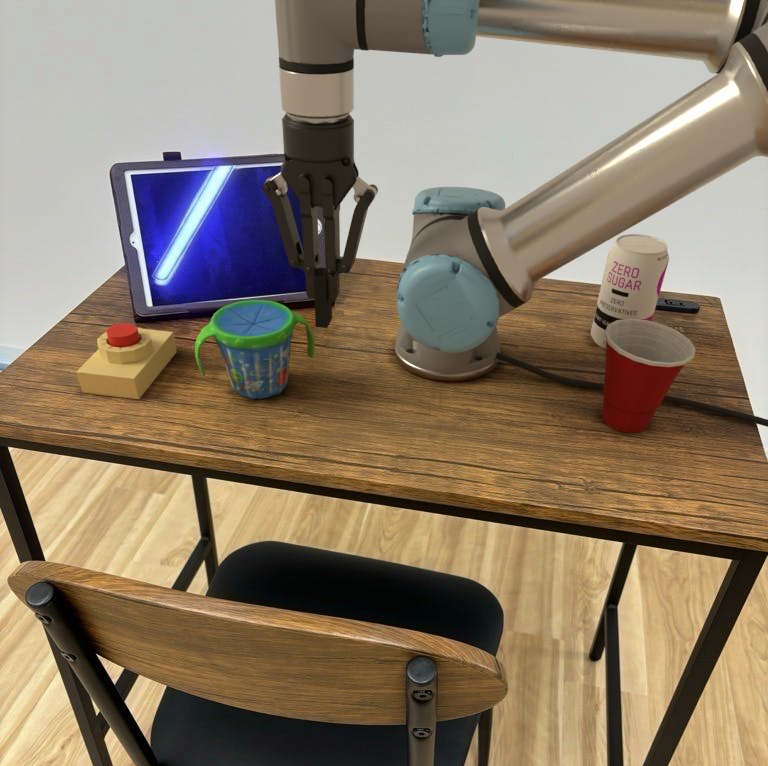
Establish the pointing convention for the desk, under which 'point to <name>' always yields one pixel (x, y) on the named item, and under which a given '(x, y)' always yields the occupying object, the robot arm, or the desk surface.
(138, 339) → the button
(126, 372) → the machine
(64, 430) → the desk surface
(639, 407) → the plastic cup
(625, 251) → the supplement can
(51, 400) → the desk surface
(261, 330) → the snack cup
